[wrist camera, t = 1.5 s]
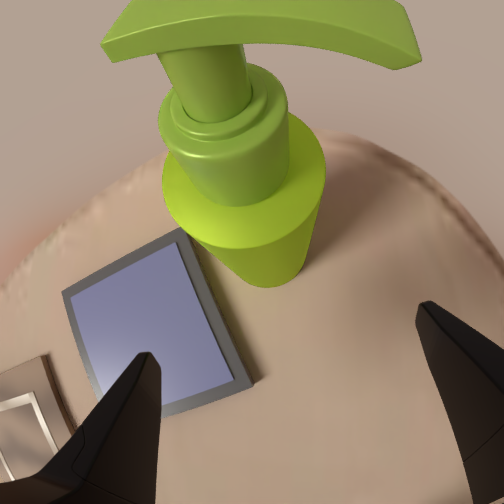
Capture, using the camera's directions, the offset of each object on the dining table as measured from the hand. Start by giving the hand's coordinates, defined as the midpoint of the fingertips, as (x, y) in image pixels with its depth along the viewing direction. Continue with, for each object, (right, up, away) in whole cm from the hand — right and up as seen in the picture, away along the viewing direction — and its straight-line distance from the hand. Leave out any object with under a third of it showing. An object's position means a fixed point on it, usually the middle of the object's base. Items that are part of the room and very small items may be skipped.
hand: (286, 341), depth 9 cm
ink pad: (-9, -4, +14) cm, 17 cm away
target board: (-26, -20, +12) cm, 35 cm away
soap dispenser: (+1, +3, +14) cm, 14 cm away
